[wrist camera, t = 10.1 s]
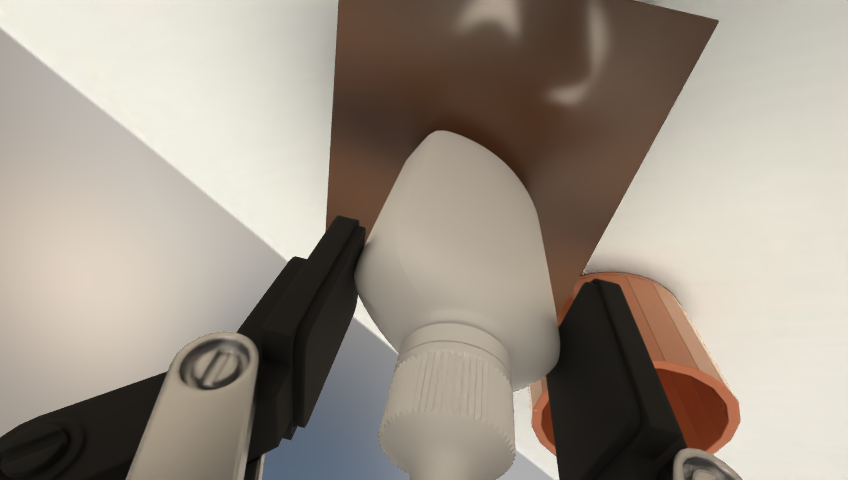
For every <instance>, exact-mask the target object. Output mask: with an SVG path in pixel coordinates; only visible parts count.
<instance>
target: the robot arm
mask: <svg viewBox="0 0 848 480" xmlns="http://www.w3.org/2000/svg"><path fill="white" fill-rule="evenodd" d="M365 235H366V228H365V227H362V226H360V222H359V220H356V219H352V218H348V217H344V216H340V215H337V216H336V218H335V219H334V221H333V222H332V224H331V225H330V226H329V228H328V229H327V231H326V232H325V234H324V235H323V237H322V238H321V240H320V241H319V243H318V244H317V246H316V247H315V249H314V250H313V252H312V253H311V254H310V256H309V257H308V259H304V258H300V257H296V256H295V257H293V258H292V259H291V260H290V261H289V262H288V263H287V265H286V266H285V267H284V269H283V270H282V271H281V273H280V274H279V275H278V277H277V278H276V280H275V281H274V282H273V284H272V285H271V286H270V288H269V289H268V290H267V292H266V293H265V294H264V296H263V297H262V298H261V300H260V301H259V303H258V304H257V305H256V307H255V308H254V309H253V311H252V312H251V313H250V315H249V316H248V317H247V319H246V320H245V321H244V323H243V324H242V325H241V327H240V328H239V330H238V331H237V332H236V333H234V332H217V333H211V334H208V335H205V336H202V337H199V338H197V339H195V340H193V341H192V342H190V343H188V344H187V345H186V346H184V347H183V348H182V349H181V350H180V351H179V352H178V353H177V354H176V356H175V357H174V359H173V361H172V363H171V364H170V367H169V369H168V371H167V372H165V373H162V374H159V375H156V376H153V377H150V378H148V379H145V380H142V381H139V382H136V383H133V384H130V385H127V386H125V387H122V388H119V389H116V390H113V391H110V392H108V393H105V394H102V395H99V396H96V397H93V398H90V399H88V400H84V401H81V402H79V403H76V404H73V405H70V406H67V407H64V408H61V409H59V410H56V411H53V412H50V413H47V414H44V415H41V416H39V417H36V418H34V419H32V420H29V421H27V422H25V423H23V424H21V425H19V426H17V427H16V428H14V429H13V430H11V431H9V432H8V433H6V434H5V435H3V436H2V437H1V438H0V480H261V479H262V472H263V465H264V457H265V453H266V452H268V451H270V450H272V449H274V448H276V447H278V446H279V443H280V441H281V439H282V438H285V439H288V440H291V439H292V437H293V435H294V433H295V430H296V428H297V426H299V427H303V428H304V427H305V426H306V425H307V423H308V421H309V418H310V416H311V414H312V411H313V409H314V407H315V404H316V402H317V400H318V397H319V395H320V393H321V390H322V388H323V386H324V383H325V381H326V378H327V376H328V374H329V371H330V369H331V367H332V364H333V362H334V360H335V357H336V355H337V353H338V350H339V348H340V345H341V343H342V341H343V338H344V336H345V333H346V331H347V329H348V326H349V324H350V322H351V319H352V317H353V315H354V312H355V308H356V304H357V298H358V293H357V289H356V286H355V281H354V272H355V269H356V266H357V262H358V259H359V257H360V255H361V252H362V250H363V248H364V243H365ZM558 330H559V336H560V355H559V359H558V362H557V364H556V366H555V367H554V368H553V369H552V370H551V371H550V372H549V373H548V374H547V375H546V381H547V389H548V396H549V404H550V411H551V419H552V426H553V434H554V441H555V449H556V456H557V464H558V472H559V479H560V480H742V478H741V477H740V476H739V475H738V474H737V473H736V472H735V471H734V470H733V469H732V468H730V467H729V466H728V465H727V464H726V463H725V462H723V461H722V460H720V459H718V458H717V457H715V456H714V455H712V454H710V453H707V452H705V451H702V450H700V449H693V448H688V447H687V444H686V442H685V440H684V437H683V434H682V431H681V429H680V426H679V424H678V422H677V419H676V417H675V414H674V412H673V410H672V407H671V405H670V403H669V400H668V398H667V395H666V393H665V391H664V388H663V386H662V384H661V381H660V379H659V376H658V374H657V372H656V369H655V367H654V365H653V362H652V360H651V357H650V355H649V353H648V350H647V348H646V345H645V343H644V341H643V338H642V336H641V334H640V331H639V329H638V326H637V324H636V322H635V319H634V317H633V315H632V312H631V310H630V307H629V305H628V303H627V300H626V298H625V296H624V293H623V291H622V288H621V286H620V285H619V284H617V283H613V282H609V281H605V280H601V279H597V278H595V279H593V280H592V281H591V282H585V283H584V284H583V285H582V287H581V288H580V290H579V292H578V294H577V296H576V297H575V299H574V301H573V303H572V305H571V306H570V308H569V310H568V312H567V313H566V315H565V317H564V319H563V321H562V322H561V324H560V326H559V328H558Z"/></svg>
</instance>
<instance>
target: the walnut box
mask: <svg viewBox="0 0 848 480" xmlns="http://www.w3.org/2000/svg"><path fill="white" fill-rule="evenodd" d="M718 22H719V21H718V20H716V19H711V18H707V17H703V16H699V15H694V14H690V13H686V12H681V11H677V10H673V9H668V8H664V7H660V6H655V5H651V4H647V3H643V2H638V1H634V0H339V4H338V22H337V39H336V57H335V75H334V92H333V110H332V127H331V145H330V163H329V180H328V198H327V215H326V231H327V229H328V228H329V226H330V225H331V224H332V222H333V221H334V219H335V218H336V216H337V215H340V216H344V217H348V218H352V219H356V220H359V222H360V226H362V227H365V228H366V235H365V243H364V246H365V244H366V241H367V239H368V237H369V235H370V233H371V231H372V229H373V227H374V224H375V222H376V220H377V218H378V216H379V214H380V212H381V210H382V208H383V206H384V204H385V202H386V200H387V198H388V196H389V194H390V192H391V190H392V188H393V186H394V184H395V182H396V180H397V178H398V176H399V174H400V172H401V170H402V168H403V166H404V164H405V162H406V160H407V159H408V158H409V157H410V155H411V154H412V153H413V152H414V151H415V149H416V148H417V147H418V146H419V145H420V144H421V143H422V142H423V140H424V139H425V138H426V137H427V136H428V135H430V134H431V133H433V132H435V131H449V132H452V133H456V134H458V135H461V136H463V137H466V138H468V139H470V140H472V141H474V142H476V143H478V144H480V145H481V146H483V147H485V148H486V149H488V150H489V151H491V152H492V153H494V154H495V155H496V156H497V157H499V158H500V159H501V160H502V161H503V162H504V163H505V164H506V165H507V166H508V167H509V168H510V169H511V170H512V171H513V172H514V173H515V174H516V176H517V177H518V178H519V180H520V181H521V182H522V184H523V185H524V187H525V188H526V190H527V192H528V194H529V196H530V198H531V199H532V202H533V204H534V206H535V209H536V212H537V215H538V219H539V224H540V229H541V234H542V240H543V245H544V250H545V256H546V261H547V266H548V272H549V277H550V283H551V288H552V294H553V299H554V305H555V310H556V317H558V316H559V314H560V312H561V310H562V308H563V306H564V305H565V303H566V301H567V299H568V297H569V295H570V294H571V292H572V290H573V288H574V286H575V284H576V283H577V281H578V279H579V277H580V275H581V273H582V272H583V270H584V268H585V266H586V264H587V262H588V261H589V259H590V257H591V255H592V253H593V251H594V250H595V248H596V246H597V244H598V242H599V240H600V239H601V237H602V235H603V233H604V231H605V229H606V228H607V226H608V224H609V222H610V220H611V218H612V217H613V215H614V213H615V211H616V209H617V207H618V206H619V204H620V202H621V200H622V198H623V196H624V195H625V193H626V191H627V189H628V187H629V185H630V184H631V182H632V180H633V178H634V176H635V174H636V173H637V171H638V169H639V167H640V165H641V163H642V162H643V160H644V158H645V156H646V154H647V152H648V151H649V149H650V147H651V145H652V143H653V141H654V140H655V138H656V136H657V134H658V132H659V130H660V129H661V127H662V125H663V123H664V121H665V119H666V118H667V116H668V114H669V112H670V110H671V108H672V107H673V105H674V103H675V101H676V99H677V97H678V96H679V94H680V92H681V90H682V88H683V86H684V85H685V83H686V81H687V79H688V77H689V75H690V74H691V72H692V70H693V68H694V66H695V64H696V63H697V61H698V59H699V57H700V55H701V53H702V52H703V50H704V48H705V46H706V44H707V42H708V41H709V39H710V37H711V35H712V33H713V31H714V30H715V28H716V26H717V24H718Z"/></svg>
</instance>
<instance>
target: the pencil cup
mask: <svg viewBox="0 0 848 480" xmlns="http://www.w3.org/2000/svg"><path fill="white" fill-rule="evenodd" d="M595 278H597V279H601V280H605V281H609V282H613V283H617V284H619V285H620V286H621V288H622V291H623V293H624V296H625V298H626V300H627V303H628V305H629V307H630V310H631V312H632V315H633V317H634V319H635V322H636V324H637V326H638V329H639V331H640V334H641V336H642V338H643V341H644V343H645V345H646V348H647V350H648V353H649V355H650V357H651V360H652V362H653V365H654V367H655V369H656V372H657V374H658V376H659V379H660V381H661V384H662V386H663V388H664V391H665V393H666V395H667V398H668V400H669V403H670V405H671V407H672V410H673V412H674V414H675V417H676V419H677V422H678V424H679V426H680V429H681V431H682V434H683V437H684V440H685V442H686V444H687V447H688V448H693V449H700V450H702V451H705V452H707V453H710V454H712V455H713V454H715V453H716V452H717V451H718V450H719V449H721V448H722V447H723V446H724V445H726V444H727V443H728V442H729V441H730V440H731V439H732V437H733V435H734V433H735V431H736V429H737V428H738V426H739V424H740V411H739V402H738V400H737V398H736V396H735V395H734V393H733V391H732V390H731V388H730V386H729V385H728V383H727V381H726V379H725V378H724V376H723V374H722V373H721V371H720V369H719V368H718V366H717V364H716V363H715V361H714V359H713V357H712V356H711V354H710V352H709V351H708V349H707V347H706V346H705V344H704V342H703V340H702V339H701V337H700V335H699V334H698V332H697V330H696V329H695V327H694V325H693V324H692V322H691V320H690V318H689V317H688V315H687V313H686V312H685V310H684V309H683V307H682V306H681V305H680V303H679V302H678V300H677V299H676V297H675V296H674V295H673V294H672V293H671V292H670V291H669V290H667V289H666V288H665V287H663V286H662V285H660V284H658V283H657V282H655V281H652V280H650V279H648V278H645V277H641V276H638V275H634V274H628V273H619V272H602V273H593V274H588V275H583V276H580V277H579V279H578V281H577V283H576V284H575V286H574V288H573V290H572V292H571V294H570V295H569V297H568V299H567V301H566V303H565V305H564V306H563V308H562V310H561V312H560V314H559V316H558V317H557V323H558V328H559V326H560V324H561V322H562V321H563V319H564V317H565V315H566V313H567V312H568V310H569V308H570V306H571V305H572V303H573V301H574V299H575V297H576V296H577V294H578V292H579V290H580V288H581V287H582V285H583V284H584V283H585V282H591V281H592V280H593V279H595ZM528 390H529V401H530V412H531V424H532V428H533V430H534V432H535V434H536V436H537V438H538V440H539V442H540V443H541V444H542V445H543V446H545V447H546V448H547V449H548V450H549V451H550V452H551V453H553V454H554V455H555V456H556V449H555V441H554V434H553V426H552V419H551V411H550V404H549V396H548V389H547V381H546V376H544V377H543V378H541V379H540V380H538V381H536V382H534V383H532V384H531V385H529V386H528Z"/></svg>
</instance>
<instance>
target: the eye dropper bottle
mask: <svg viewBox="0 0 848 480" xmlns="http://www.w3.org/2000/svg"><path fill="white" fill-rule="evenodd" d="M354 281H355V286H356V289H357V293H358V295H359V297H360V299H361V301H362V303H363V305H364V307H365V308H366V310H367V312H368V313H369V315H370V316H371V318H372V320H373V321H374V323H375V324H376V326H377V327H378V329H379V330H380V331H381V333H382V334H383V335H384V336H385V338H386V339H387V340H388V342H389V343H390V344H391V345H392V346H393V347H394V348H395V350H396V351H397V352H398V353H399V355H398V359H397V363H396V367H395V370H394V374H393V378H392V382H391V386H390V390H389V394H388V398H387V402H386V406H385V409H384V413H383V417H382V422H381V425H380V429H379V436H378V437H379V442H380V445H381V447H382V449H383V451H384V453H385V454H386V456H387V457H388V458H389V459H390V461H391V462H392V463H393V464H395V465H396V466H397V467H398V468H400V469H401V470H403V471H404V472H406V473H408V474H409V476H410V480H496V479H497V478H499V477H500V476H502V475H503V474H504V473H505V472H506V471H507V470H508V469H509V468H510V467H511V465H512V464H513V461H514V460H515V459H514V457H515V452H516V451H515V430H514V408H513V392H515V391H518V390H520V389H522V388H525V387H527V386H529V385H531V384H532V383H534V382H536V381H538V380H540V379H541V378H543V377H544V376H546V375H547V374H548V373H549V372H550V371H551V370H552V369H553V368H554V367H555V366H556V364H557V362H558V359H559V355H560V336H559V330H558V323H557V317H556V310H555V305H554V299H553V294H552V288H551V283H550V277H549V272H548V266H547V261H546V256H545V250H544V245H543V240H542V234H541V229H540V224H539V219H538V215H537V212H536V209H535V206H534V204H533V202H532V199H531V198H530V196H529V194H528V192H527V190H526V188H525V187H524V185H523V184H522V182H521V181H520V180H519V178H518V177H517V176H516V174H515V173H514V172H513V171H512V170H511V169H510V168H509V167H508V166H507V165H506V164H505V163H504V162H503V161H502V160H501V159H500V158H499V157H497V156H496V155H495V154H494V153H492V152H491V151H489V150H488V149H486V148H485V147H483V146H481V145H480V144H478V143H476V142H474V141H472V140H470V139H468V138H466V137H463V136H461V135H458V134H456V133H452V132H449V131H435V132H433V133H431V134H430V135H428V136H427V137H426V138H425V139H424V140H423V142H422V143H421V144H420V145H419V146H418V147H417V148H416V149H415V151H414V152H413V153H412V154H411V155H410V157H409V158H408V159H407V160H406V162H405V164H404V166H403V168H402V170H401V172H400V174H399V176H398V178H397V180H396V182H395V184H394V186H393V188H392V190H391V192H390V194H389V196H388V198H387V200H386V202H385V204H384V206H383V208H382V210H381V212H380V214H379V216H378V218H377V220H376V222H375V224H374V227H373V229H372V231H371V233H370V235H369V237H368V239H367V241H366V244H365V246H364V248H363V250H362V252H361V255H360V257H359V259H358V262H357V266H356V269H355V272H354Z"/></svg>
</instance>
